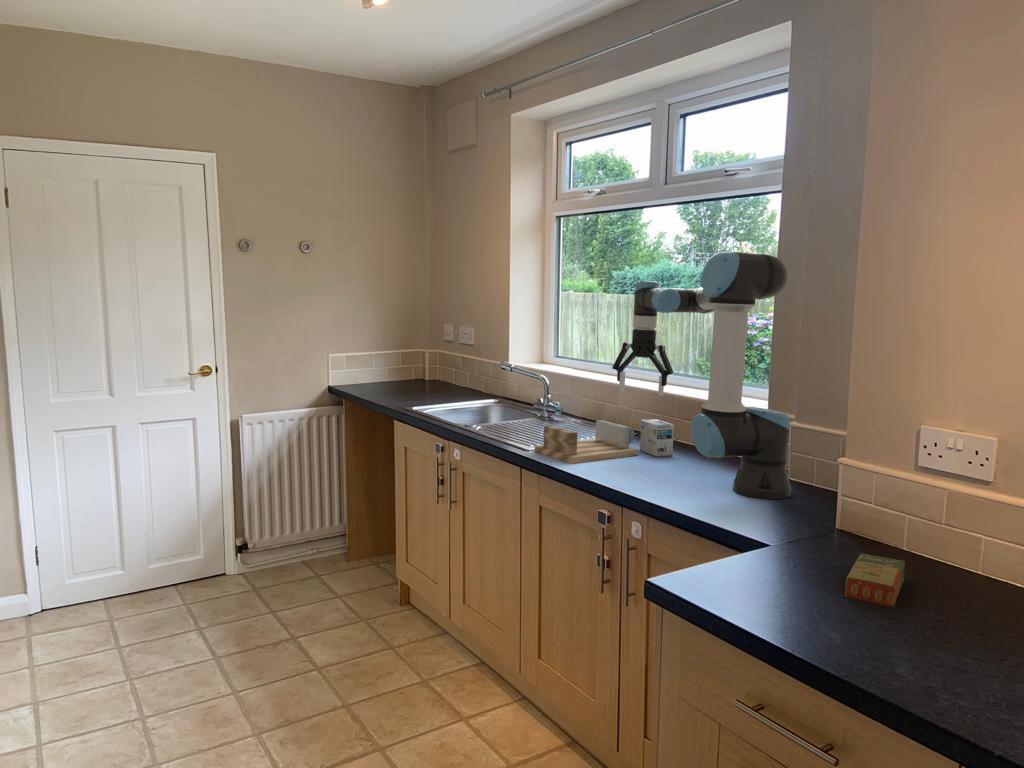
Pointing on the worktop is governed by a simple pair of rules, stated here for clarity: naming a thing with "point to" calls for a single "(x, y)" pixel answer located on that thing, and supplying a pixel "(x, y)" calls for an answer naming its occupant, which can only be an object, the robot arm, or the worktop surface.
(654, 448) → the light bulb box
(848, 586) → the carton
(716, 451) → the robot arm
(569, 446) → the vise
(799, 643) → the worktop surface
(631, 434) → the sliding jaw
